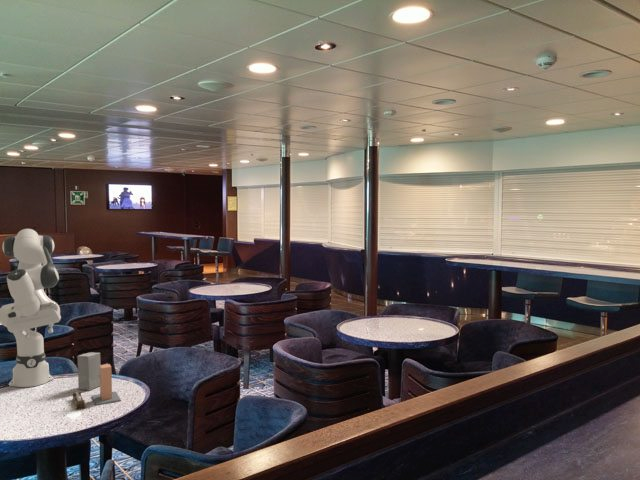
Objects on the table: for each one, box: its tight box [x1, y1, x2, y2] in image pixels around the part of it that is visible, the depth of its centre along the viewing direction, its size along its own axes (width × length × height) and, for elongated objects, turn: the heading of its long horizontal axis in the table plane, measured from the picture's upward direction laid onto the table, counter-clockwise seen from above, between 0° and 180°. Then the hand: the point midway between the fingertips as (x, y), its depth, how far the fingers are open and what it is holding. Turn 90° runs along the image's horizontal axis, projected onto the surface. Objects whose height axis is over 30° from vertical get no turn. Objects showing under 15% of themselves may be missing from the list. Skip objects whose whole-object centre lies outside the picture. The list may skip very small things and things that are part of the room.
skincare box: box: [76, 351, 102, 391], centre depth 241 cm, size 8×7×16 cm
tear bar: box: [72, 390, 86, 410], centre depth 221 cm, size 14×3×3 cm, turn 31°
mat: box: [91, 391, 121, 406], centre depth 227 cm, size 12×10×1 cm
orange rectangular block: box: [99, 363, 113, 400], centre depth 226 cm, size 5×4×14 cm
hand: (39, 335), depth 221 cm, fingers open, 8 cm apart
